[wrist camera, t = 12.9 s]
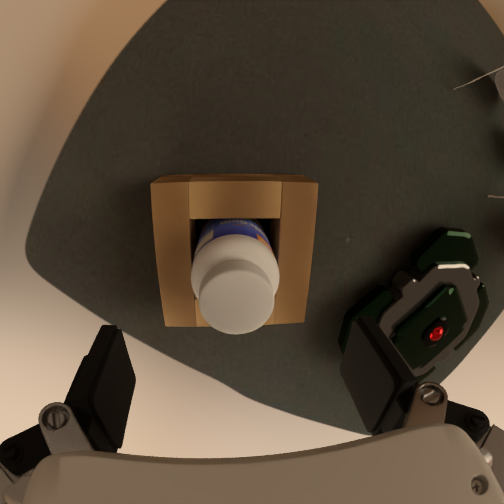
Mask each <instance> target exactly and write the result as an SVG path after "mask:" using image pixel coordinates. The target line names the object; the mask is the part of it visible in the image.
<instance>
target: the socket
mask: <svg viewBox="0 0 504 504" xmlns="http://www.w3.org/2000/svg"><path fill="white" fill-rule="evenodd" d="M150 187H151V204H152V218H153V231H154V242H155V252H156V261H157V270H158V278H159V286H160V294H161V301H162V308H163V314H164V321H165V326H211V325H209V324H208V323H207V322H206V320H205V319H204V318H203V316H202V314H201V312H200V308H199V300H198V299H197V297H196V295H195V293H194V291H193V288H192V284H191V270H192V265H193V260H194V256H195V252H196V231H195V219H231V218H271V221H270V247H271V249H272V252H273V254H274V257H275V259H276V262H277V265H278V268H279V285H278V289H277V291H276V294H275V296H274V308H273V311H272V314H271V315H270V317H269V319H268V320H267V321H266V322H265V323H264V324H263V325H267V324H284V323H300V322H304V319H305V312H306V304H307V297H308V288H309V280H310V271H311V262H312V253H313V243H314V232H315V221H316V209H317V196H318V183H317V182H315V181H313V180H311V179H309V178H307V177H305V176H303V175H285V174H273V175H272V174H187V175H163V176H161V177H160V178H158V179H156V180H155V181H153V182H152V183H151V184H150Z"/></svg>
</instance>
